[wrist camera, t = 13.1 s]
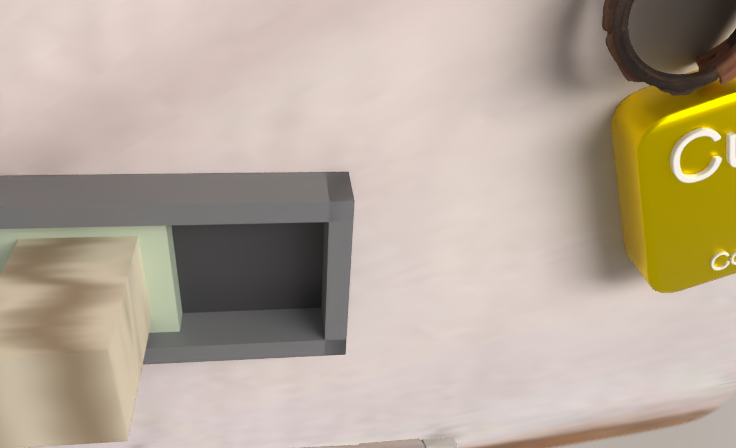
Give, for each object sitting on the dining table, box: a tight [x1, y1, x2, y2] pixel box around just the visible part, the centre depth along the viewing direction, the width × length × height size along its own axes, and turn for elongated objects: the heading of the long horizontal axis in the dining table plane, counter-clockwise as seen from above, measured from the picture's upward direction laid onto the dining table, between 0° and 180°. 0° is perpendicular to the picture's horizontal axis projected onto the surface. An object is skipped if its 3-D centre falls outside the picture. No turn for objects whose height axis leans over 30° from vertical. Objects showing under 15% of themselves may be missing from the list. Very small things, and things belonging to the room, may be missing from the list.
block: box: [0, 236, 152, 448], centre depth 39 cm, size 7×7×10 cm
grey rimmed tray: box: [0, 172, 354, 364], centre depth 44 cm, size 32×13×4 cm, turn 86°
